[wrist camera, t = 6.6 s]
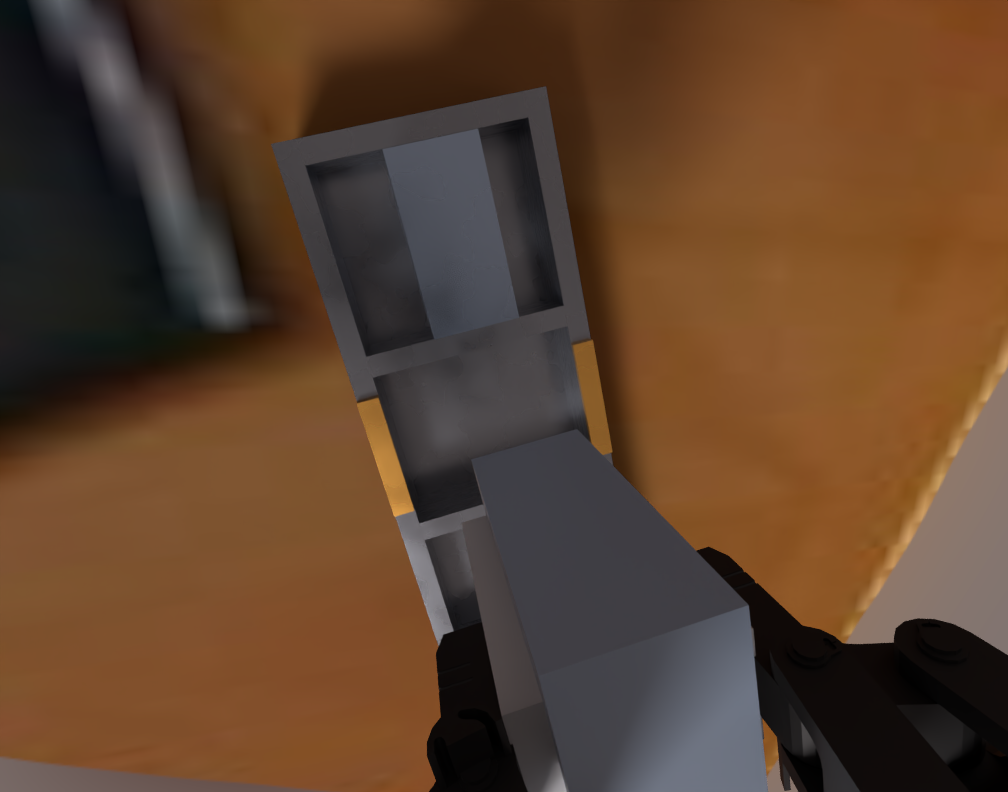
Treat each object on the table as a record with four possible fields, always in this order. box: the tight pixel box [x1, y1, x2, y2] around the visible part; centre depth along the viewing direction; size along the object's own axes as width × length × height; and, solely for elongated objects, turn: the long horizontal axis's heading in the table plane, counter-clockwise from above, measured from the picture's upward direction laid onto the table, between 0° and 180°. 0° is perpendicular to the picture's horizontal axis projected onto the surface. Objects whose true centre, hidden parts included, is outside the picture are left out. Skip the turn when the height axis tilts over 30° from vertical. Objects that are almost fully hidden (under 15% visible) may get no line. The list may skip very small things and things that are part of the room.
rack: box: [271, 86, 613, 646], centre depth 25 cm, size 28×11×9 cm, turn 13°
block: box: [471, 429, 768, 792], centre depth 12 cm, size 6×3×8 cm, turn 13°
